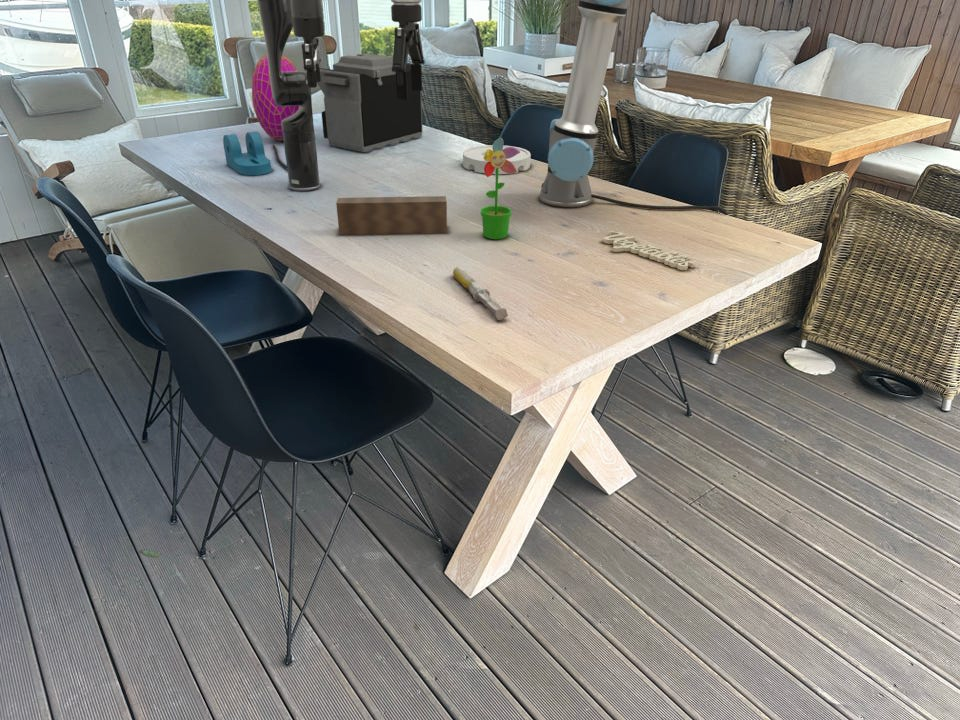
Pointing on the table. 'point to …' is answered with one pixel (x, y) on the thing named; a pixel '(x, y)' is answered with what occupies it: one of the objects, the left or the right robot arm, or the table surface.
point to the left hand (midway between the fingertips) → (314, 84)
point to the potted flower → (497, 215)
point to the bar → (392, 215)
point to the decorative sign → (647, 251)
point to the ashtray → (476, 162)
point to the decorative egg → (269, 99)
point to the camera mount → (246, 154)
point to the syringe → (479, 293)
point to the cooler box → (368, 104)
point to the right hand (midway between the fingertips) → (410, 94)
